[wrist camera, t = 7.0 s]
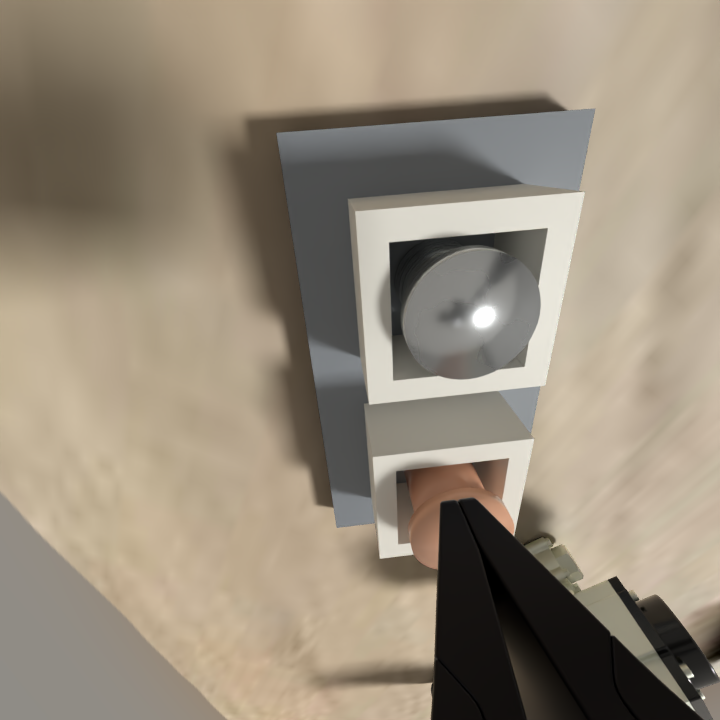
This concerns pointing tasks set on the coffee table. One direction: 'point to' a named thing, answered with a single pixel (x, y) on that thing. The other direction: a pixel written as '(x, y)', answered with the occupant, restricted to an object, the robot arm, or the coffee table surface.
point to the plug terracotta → (442, 486)
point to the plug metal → (465, 307)
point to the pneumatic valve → (638, 627)
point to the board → (382, 306)
